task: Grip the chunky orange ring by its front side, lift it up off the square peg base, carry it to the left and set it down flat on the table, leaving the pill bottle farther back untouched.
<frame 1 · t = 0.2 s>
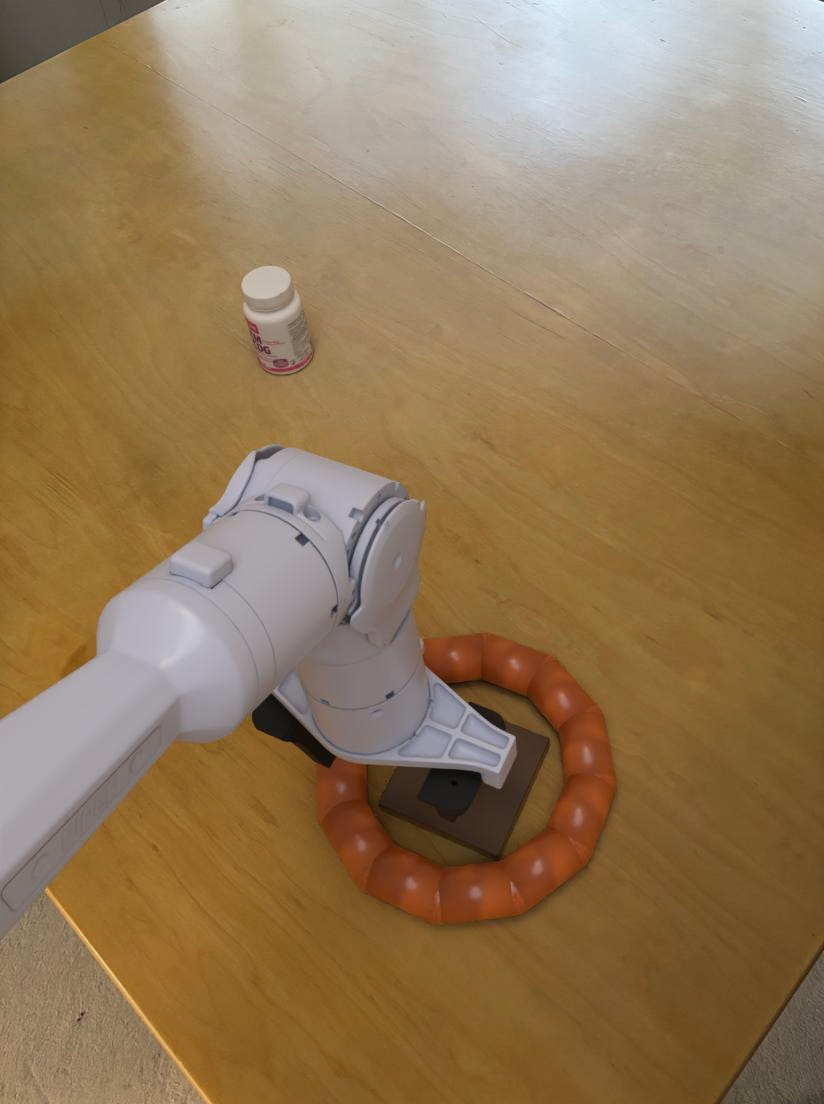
hand: (393, 776, 59), 8 cm above the table, tool pointing down, fingers open, 7 cm apart
pill bottle: (286, 358, 92), on the table
ring: (464, 767, 66), point 1 cm above the table
square peg base: (466, 777, 67), on the table
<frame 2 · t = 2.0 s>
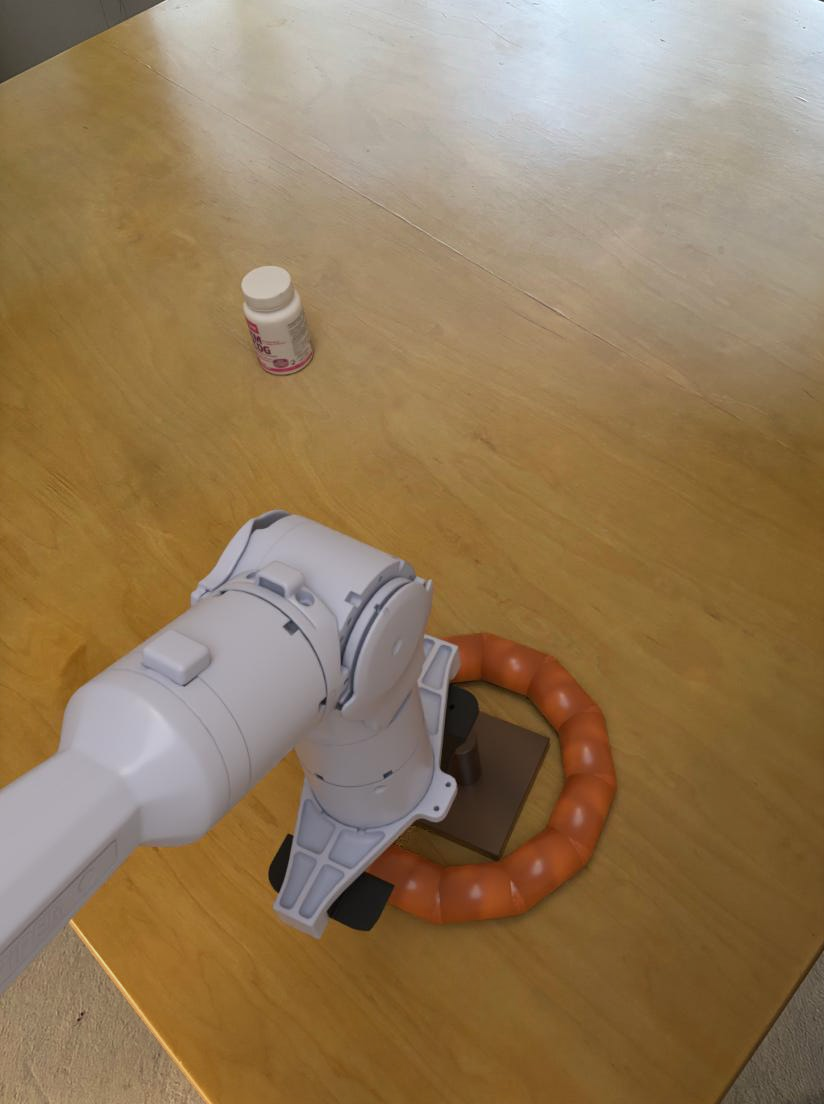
hand: (395, 839, 56), 8 cm above the table, tool pointing down, fingers open, 7 cm apart
nothing on the table moved.
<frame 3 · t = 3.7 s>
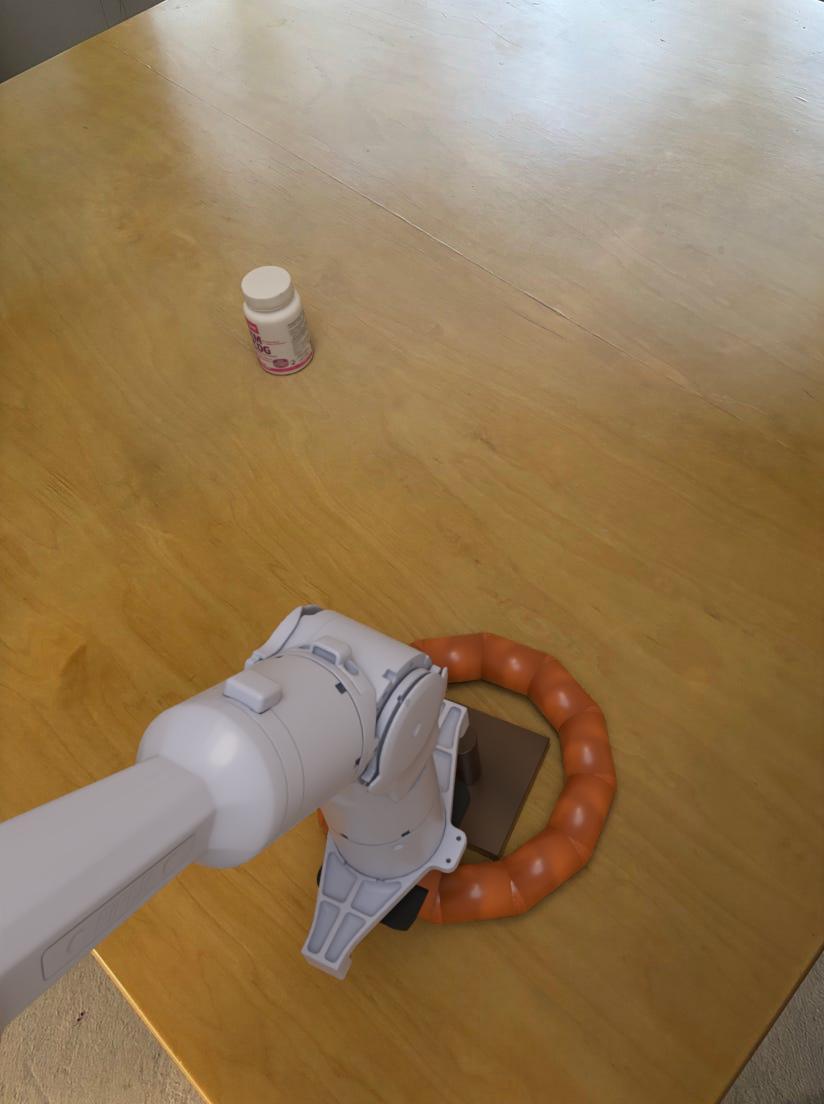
hand: (409, 882, 61), 1 cm above the table, tool pointing down, fingers closed on ring, 3 cm apart
ring: (464, 766, 66), point 1 cm above the table, touching gripper
everything else where it was.
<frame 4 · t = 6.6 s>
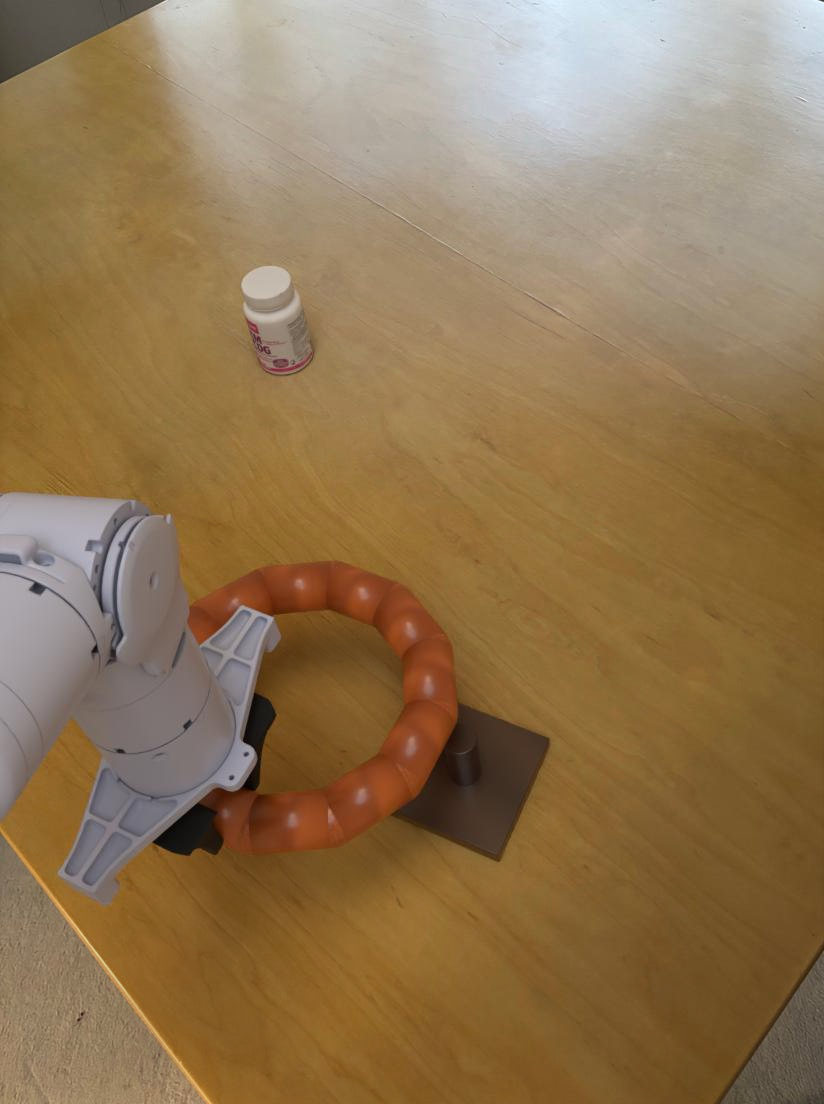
hand: (222, 811, 56), 9 cm above the table, tool pointing down, fingers closed on ring, 3 cm apart
ring: (297, 694, 61), point 9 cm above the table, touching gripper
everything else where it was.
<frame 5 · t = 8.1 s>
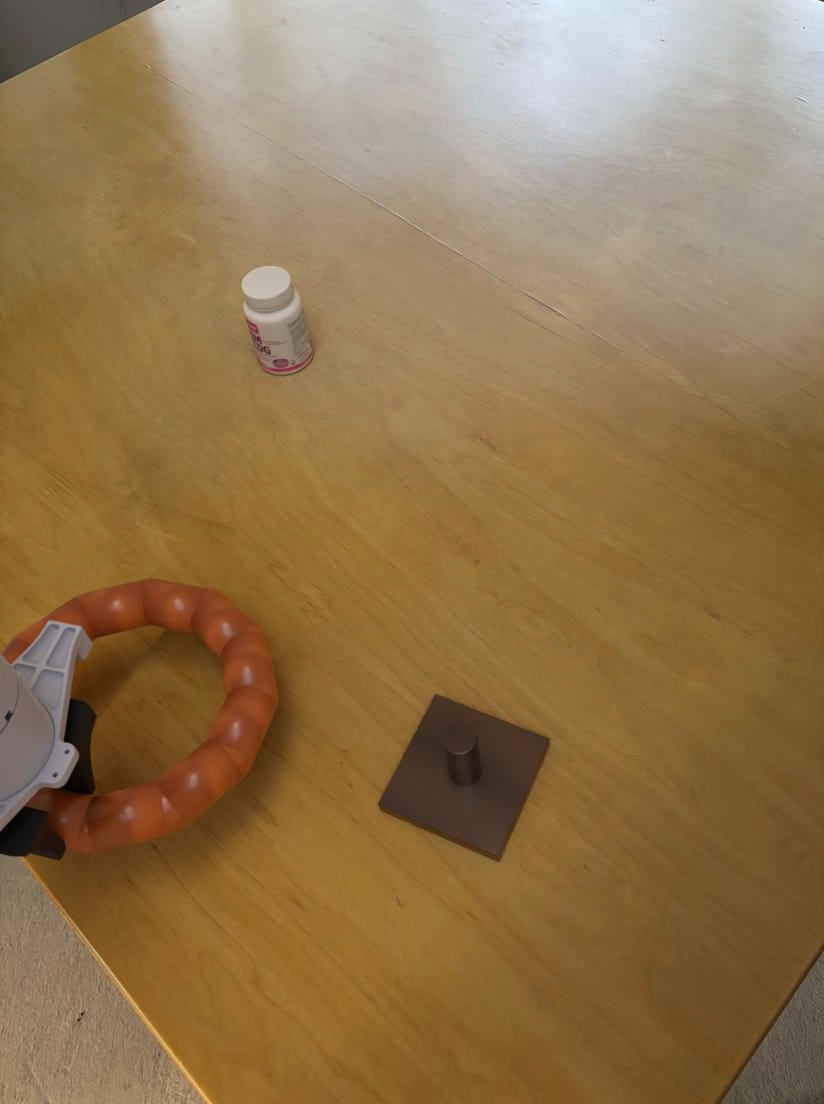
hand: (62, 820, 59), 7 cm above the table, tool pointing down, fingers closed on ring, 3 cm apart
ring: (124, 703, 64), point 6 cm above the table, tilted 6°, touching gripper
everything else where it was.
when the fingers open (2 cm above the table, at t = 9.4 s): ring stays where it is, point 1 cm above the table.
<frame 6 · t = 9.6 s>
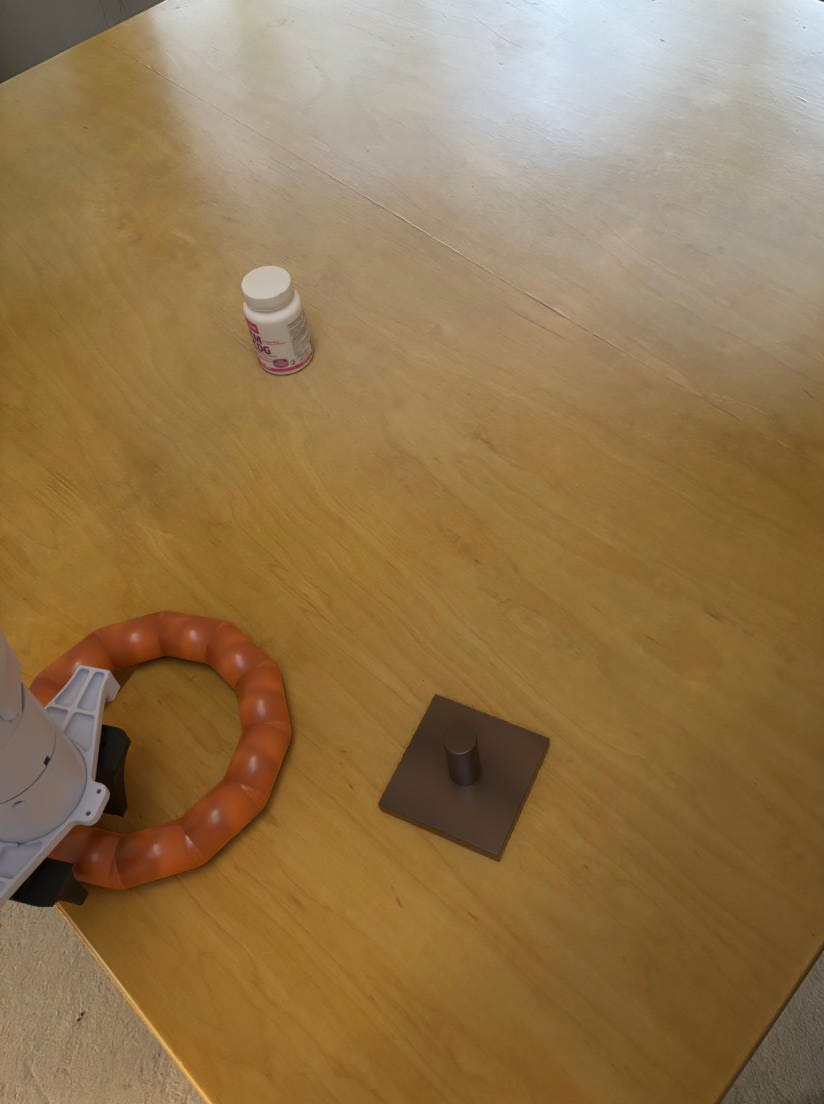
hand: (90, 851, 63), 2 cm above the table, tool pointing down, fingers open, 5 cm apart
ring: (146, 739, 68), point 1 cm above the table
everything else where it was.
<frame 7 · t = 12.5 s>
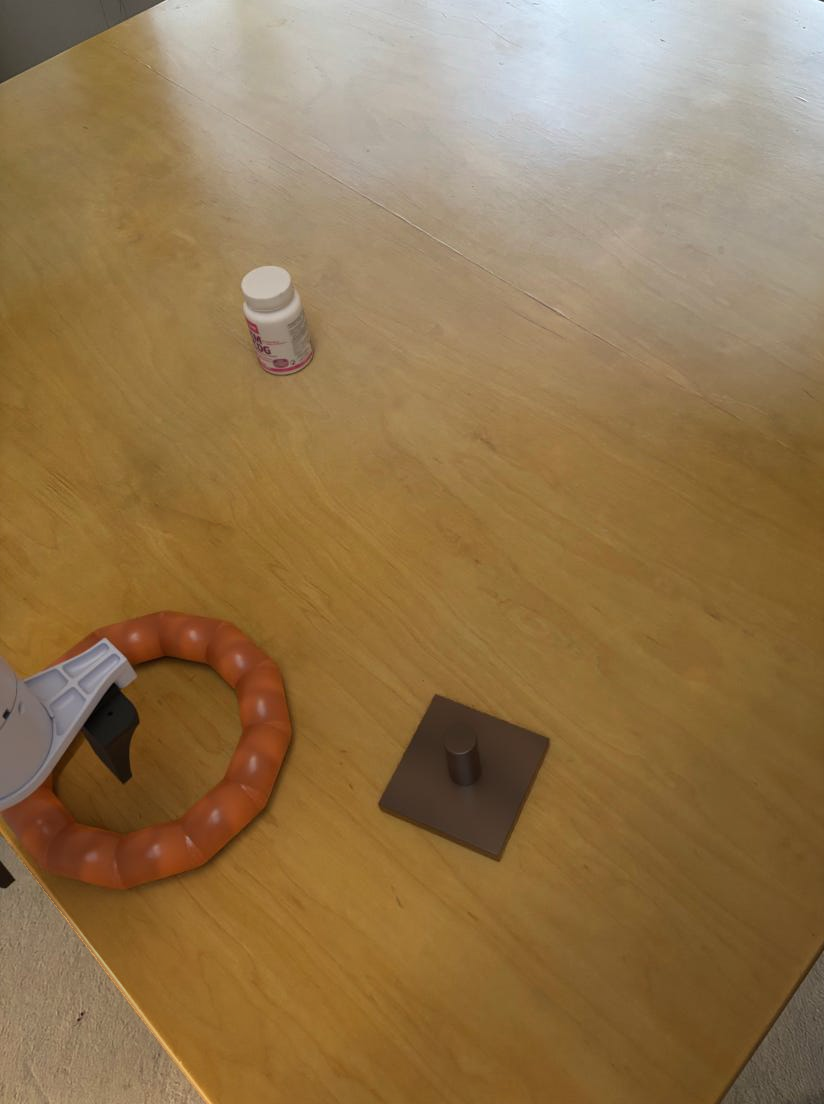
hand: (61, 819, 59), 7 cm above the table, tool pointing down, fingers open, 7 cm apart
nothing on the table moved.
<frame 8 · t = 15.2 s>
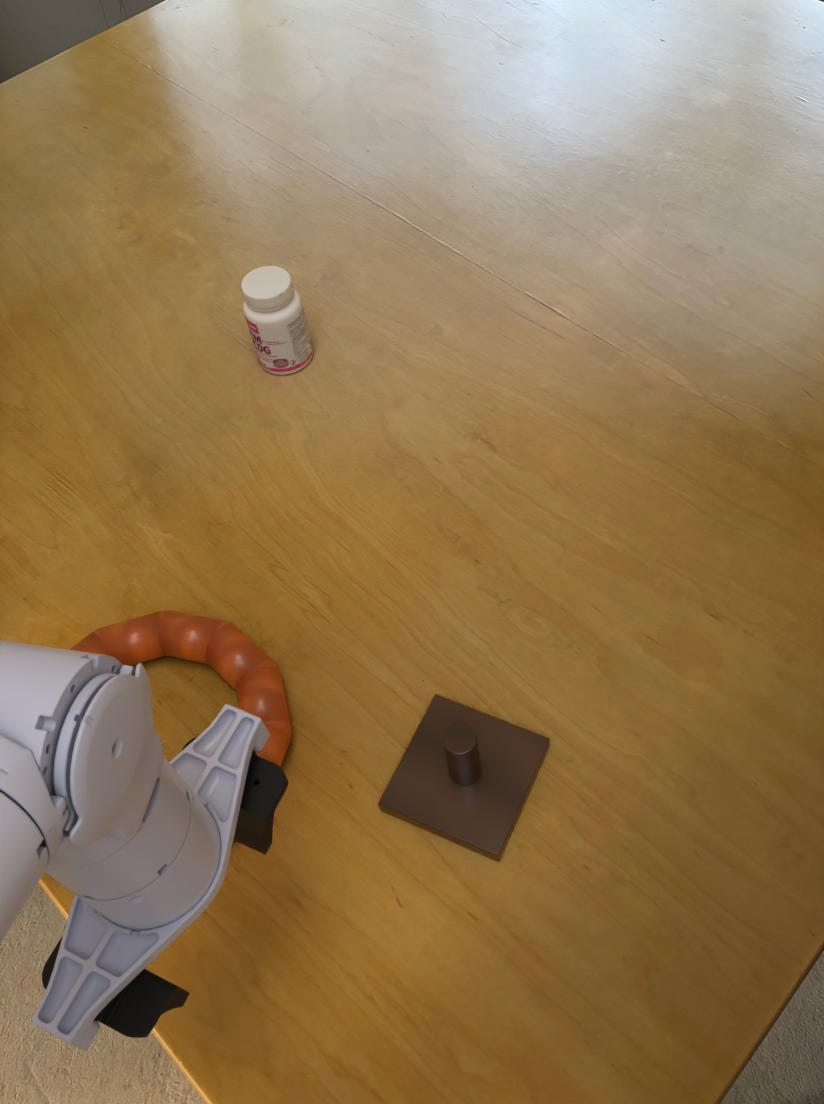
hand: (212, 913, 53), 9 cm above the table, tool pointing down, fingers open, 7 cm apart
nothing on the table moved.
at the end: ring inside the target area on the table beside the square peg base (1.9 cm from its centre), point 1.5 cm above the table; the gripper is holding nothing; pill bottle moved 0.2 cm from its start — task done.
